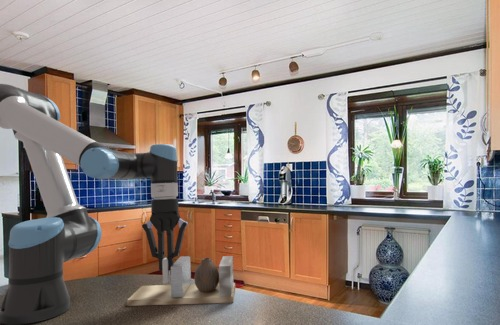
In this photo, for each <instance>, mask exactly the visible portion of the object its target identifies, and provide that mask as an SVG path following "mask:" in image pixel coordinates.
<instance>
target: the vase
mask: <svg viewBox="0 0 500 325" xmlns="http://www.w3.org/2000/svg"><path fill="white" fill-rule="evenodd" d="M218 283H219V268H217V266H216V265H215V263H214V262H213V261H212V257H211V258H210V257H204V258H201V261H200V263H199V264H198V266H197V267H196V269H195V272H194V284H196V287H197V288H198V290H199V291H201V292H212V291H214V290H215V289H216V287H217V286H218Z"/></svg>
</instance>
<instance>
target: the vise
mask: <svg viewBox="0 0 500 325" xmlns="http://www.w3.org/2000/svg"><path fill="white" fill-rule="evenodd" d="M218 272H219V283H218V286H217V287H216V289H215V290H214V291H212V292H201V291H199V290H198V288H197V287H196V284H195V283H191V284H190V285H189V287H188V289H187V290H186V292H185V294H184V295H183V297H171V284H159V285H158V284H155V285H141V286H140V287H139V288H138V289H136V291H135V292H134V293H132V294H131V296H130V297H128V298H127V299H126V306H128V307H129V306H130V307H131V306H136V307H137V306H158V305H163V306H165V305H166V306H167V305H193V304H194V305H196V304H197V305H198V304H225V303H226V304H228V303H229V304H231V303H234V300H235V292H236V282H234V256H233V255H225V256H224V255H223V256H222V258H221V260H220V262H219V265H218Z"/></svg>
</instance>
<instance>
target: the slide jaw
mask: <svg viewBox="0 0 500 325" xmlns="http://www.w3.org/2000/svg"><path fill="white" fill-rule="evenodd" d="M191 276H192V272H191V255H190V256H189V255H187V256H184V255H183V256H179V258H177V259H176V261H175V262H174V264H173V265H172V266H171V270H170V285H171V297H183V295H184V294H185V292H186V290H187V289H188V287H189V285H190V284H192V282H191V280H192V277H191Z"/></svg>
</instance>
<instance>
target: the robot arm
mask: <svg viewBox="0 0 500 325" xmlns="http://www.w3.org/2000/svg"><path fill="white" fill-rule="evenodd" d="M60 120H61V113H60V110H59V107H58V106H57V104H56V103H55V102H54V101H53V100H52V99H50V98H48V97H46V96H45V95H42V94H39V93H37V92H36V93H33V92H31V91H29V90H25V89H23V88H20V87H17V86H14V85H11V84H6V83H0V128H2V129H6V130H10V129H11V130H12V132H13V136H14V138H15V139H16V140H18V141H20V142H22V143H23V145H24V149H25V152H26V155H27V158H28V161H29V164H30V166H31V170H32V172H33V176H34V179H35V182H36V184H37V187H38V189H39V190H38V191H39V193H40V197H41V200H42V202H43V206H44V207H45V211H46V214H47V215H46V217H41V218H37V219H30V220H25V221H21V222H19V223H17V224H15V225H13V227H12V228H10V231H9V239H8V242H7V244H8V287H7V289H6V290H7V291H6V293H5V295H4V299H3V301H2V303H1V306H0V324H2V325H28V324H33V323H39V322H42V321H46V320H50V319H52V318H56V317H57V316H60V315H62V314H64V313H65V312H67V311H68V310H69V309H70V308H71V296H70V293H69V291H68V288H67V285H66V282H65V280H64V263H66V262H69V261H72V260H74V259H78V258H82V257H85V256H86V255H88V254H91V253H92V252H94V251H95V249H96V248H98V246H99V244H100V242H101V239H102V228H101V225H100V223H99V221H98V220H97V219H95V218H93V217H92V216H89V213H88V210H87V207H85V206H83V205H80V203H79V201H78V198H77V196H76V194H75V190H74V188H73V184H72V182H71V177H70V176H69V173H68V170H67V167H66V165H65V161H64V159H66V160H68V161H70V162H72V163H73V164H75V165H77V166H79V167H80V168H81V170H82V172H83V173H84V174H85V175H86V177H89V178H93V179H97V180H109V179H110V180H113V179H114V180H121V181H123V180H124V181H127V180H137V179H138V180H139V179H150V197H151V198H152V200H151V201H150V203H151V204H150V205H151V206H150V211H151V215H150V217H149V220H148V221H146V222H145V223H142V225H141V227H142V229H143V231H144V232H145V236H146V239H147V243H148V246H149V250H150V254H151V257H152V258H156V259H158V270H159V271H160V272H162V285H166V284H169V283H171V266H172V265H173V264H174V263H175V262H174V258H176V257H178V256H179V255H180V254H181V249H182V244H183V240H184V236H185V231H186V228H187V227H188V225H189V222H188V221H186V220H184V219H182V218H181V216H180V214H179V213H180V212H179V199H178V198H177V197H178V196H179V186H178V185H179V183H178V162H179V160H178V154H177V147H176V146H175V145H173V144H171V143H170V144H168V143H167V144H165V143H159V144H152V145H150V147H149V152H148V151H147V152H134V153H133V152H132V153H131V152H125V151H121V150H120V151H119V150H114V149H111V148H109V147H107V146H106V145H104V144H102V143H99V142H98V141H96V140H94V139H92V138H90V137H89V136H86V135H85V134H83V133H81V132H79V131H77V130H75V129H74V128H73V127H70V126H68V125H66V124H64V123H63V122H61V121H60ZM63 158H64V159H63ZM177 225H178V227H179V229H178V233H177V238H176V243H175V246H174V232H175V230H174V229H175V228H176V226H177ZM153 227H154V229H155V230H156V235H157V241H156V238H155V235H154V234H155V233H154V231H153V229H152V228H153ZM165 233H166V243H165ZM156 242H157V243H156ZM165 244H166V247H165ZM165 248H166V249H167V250H166V249H165ZM165 250H166V251H167V252H166V251H165ZM165 253H166V254H167V257H166V254H165Z"/></svg>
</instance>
